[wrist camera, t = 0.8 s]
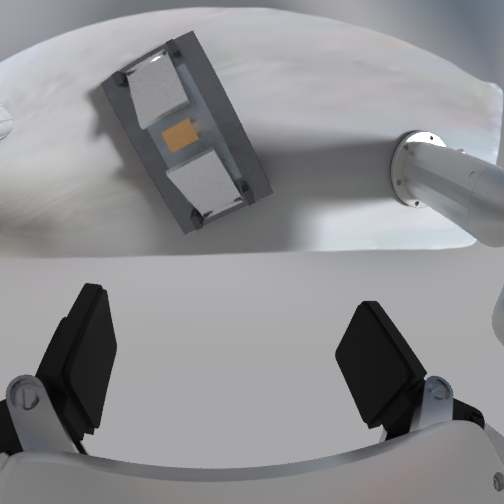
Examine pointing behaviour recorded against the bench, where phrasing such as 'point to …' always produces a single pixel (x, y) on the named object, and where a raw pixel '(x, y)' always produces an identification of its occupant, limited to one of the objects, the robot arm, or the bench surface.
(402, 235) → the bench surface
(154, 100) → the strap
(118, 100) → the tray
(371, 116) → the bench surface
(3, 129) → the photo printer
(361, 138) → the bench surface
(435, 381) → the robot arm
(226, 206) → the strap
